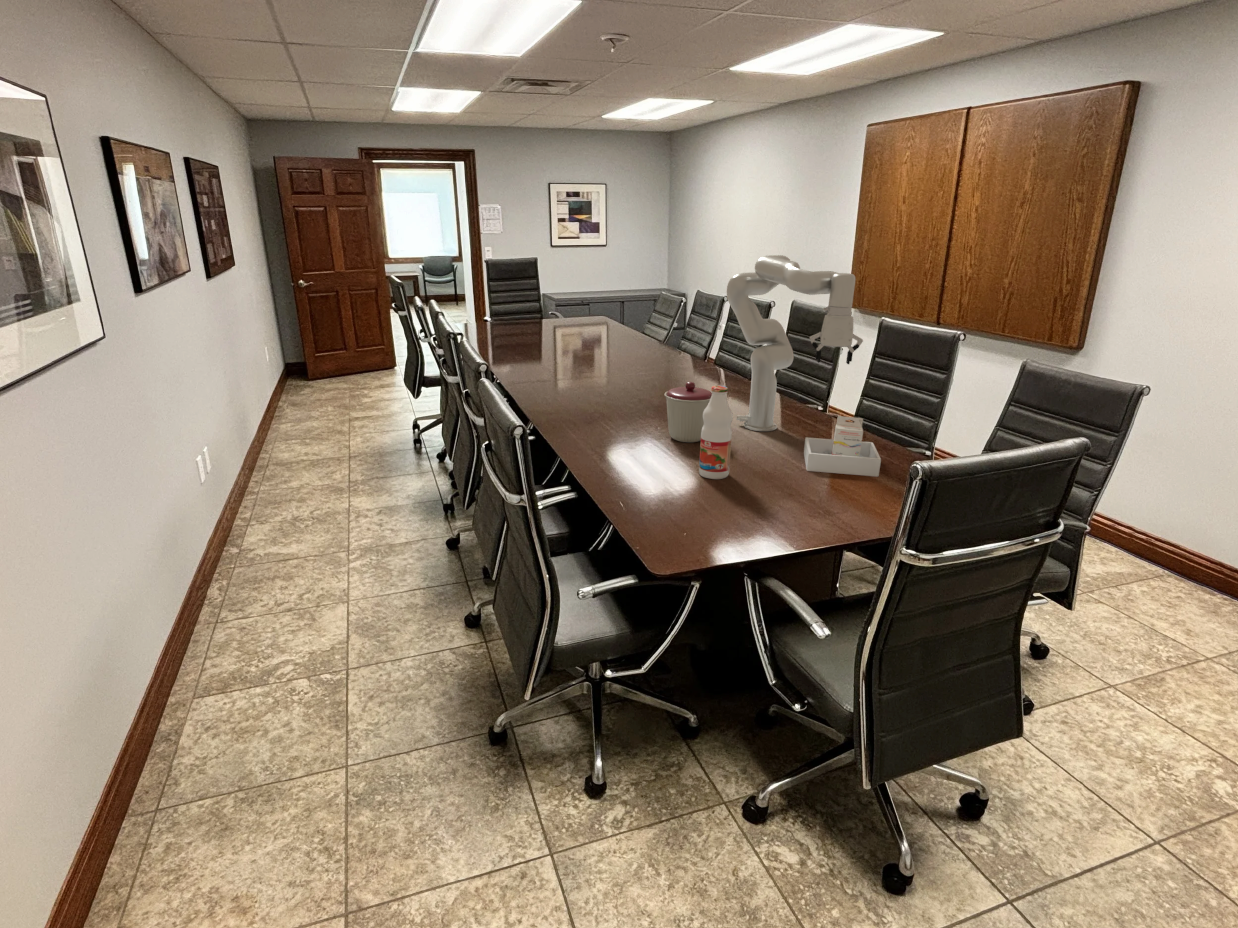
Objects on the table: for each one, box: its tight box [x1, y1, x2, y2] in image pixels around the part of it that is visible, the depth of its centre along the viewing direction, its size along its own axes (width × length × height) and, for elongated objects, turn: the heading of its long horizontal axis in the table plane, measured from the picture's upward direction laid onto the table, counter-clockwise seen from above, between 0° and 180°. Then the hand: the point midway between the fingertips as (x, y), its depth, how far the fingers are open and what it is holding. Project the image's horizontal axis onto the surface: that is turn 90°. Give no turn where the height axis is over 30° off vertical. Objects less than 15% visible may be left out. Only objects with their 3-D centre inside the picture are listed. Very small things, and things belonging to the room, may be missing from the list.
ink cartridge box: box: [832, 415, 864, 457], centre depth 226 cm, size 9×5×15 cm, turn 75°
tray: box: [803, 436, 882, 477], centre depth 227 cm, size 22×18×6 cm
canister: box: [664, 381, 712, 443], centre depth 249 cm, size 18×18×21 cm
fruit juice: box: [698, 385, 734, 480], centre depth 212 cm, size 9×9×28 cm
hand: (833, 362), depth 235 cm, fingers open, 9 cm apart
